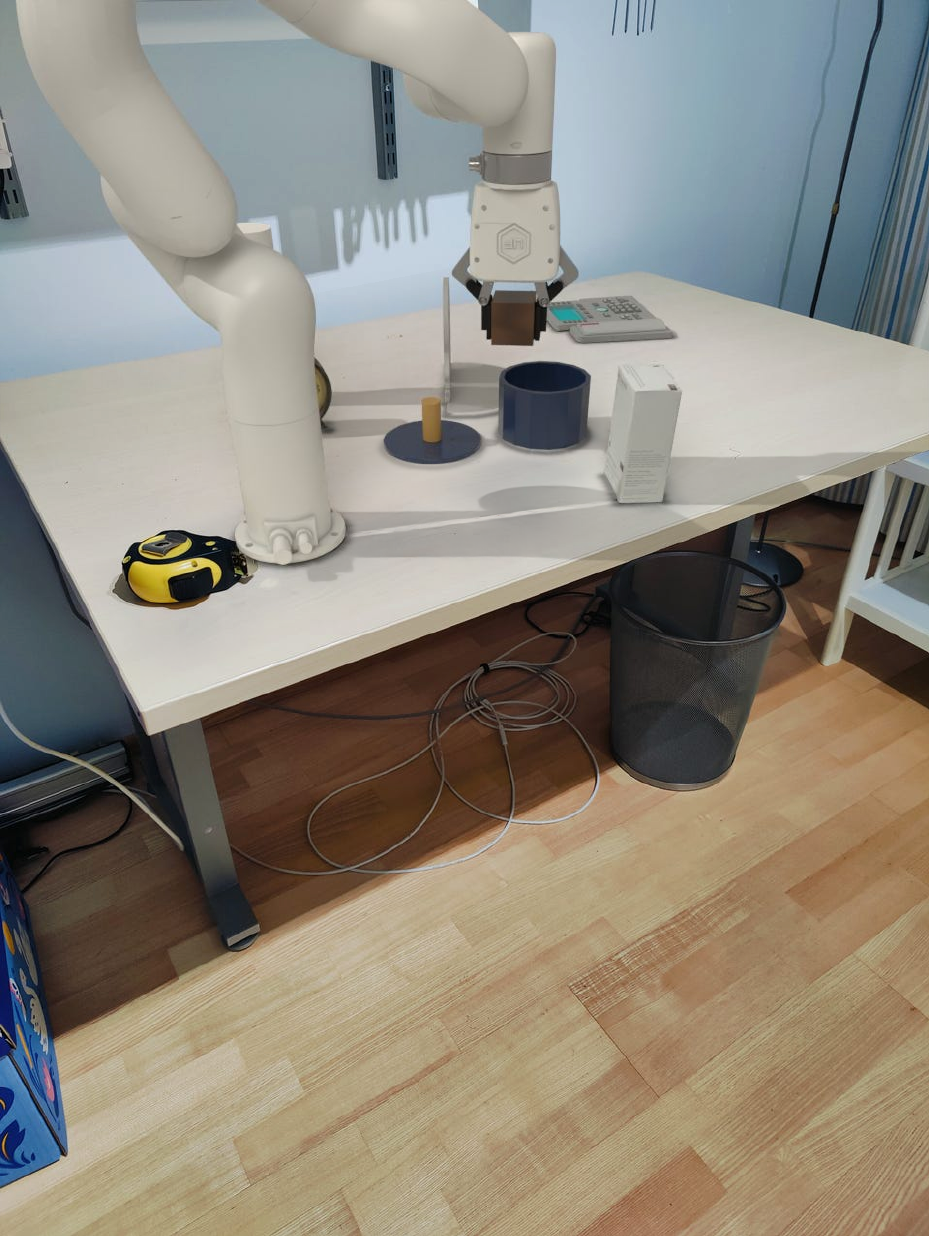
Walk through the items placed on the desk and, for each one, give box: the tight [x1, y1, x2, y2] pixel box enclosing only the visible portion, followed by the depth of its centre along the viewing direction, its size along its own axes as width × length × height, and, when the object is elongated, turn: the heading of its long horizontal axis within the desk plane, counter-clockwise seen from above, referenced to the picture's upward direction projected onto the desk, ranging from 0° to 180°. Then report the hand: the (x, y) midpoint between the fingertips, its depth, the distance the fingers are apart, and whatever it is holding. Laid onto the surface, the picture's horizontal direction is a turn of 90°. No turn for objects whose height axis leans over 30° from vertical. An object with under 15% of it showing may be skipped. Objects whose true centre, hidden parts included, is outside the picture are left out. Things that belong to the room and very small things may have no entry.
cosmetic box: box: [603, 364, 683, 504], centre depth 105 cm, size 8×6×15 cm
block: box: [490, 289, 538, 347], centre depth 103 cm, size 5×5×5 cm
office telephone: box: [547, 295, 673, 344], centre depth 165 cm, size 23×3×20 cm
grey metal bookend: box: [442, 276, 506, 414], centre depth 133 cm, size 22×13×17 cm, turn 0°
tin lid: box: [383, 396, 482, 465], centre depth 118 cm, size 13×13×7 cm
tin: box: [497, 360, 592, 451], centre depth 121 cm, size 12×12×8 cm
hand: (513, 335), depth 104 cm, fingers closed on block, 5 cm apart
